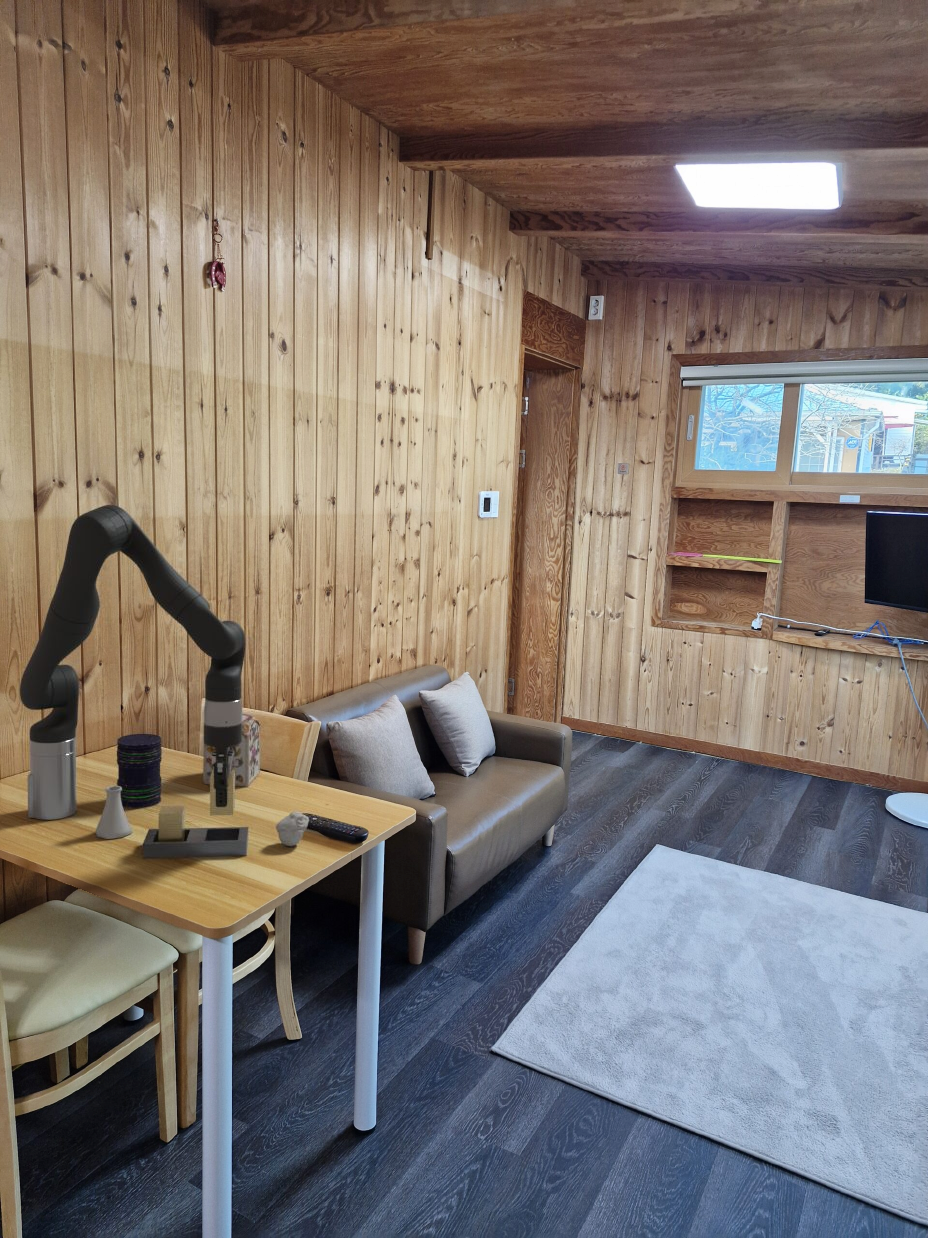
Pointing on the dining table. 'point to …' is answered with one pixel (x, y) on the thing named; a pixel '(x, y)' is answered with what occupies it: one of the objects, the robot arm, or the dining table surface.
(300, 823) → the frog figurine
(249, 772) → the decorative jar
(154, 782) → the storage jar
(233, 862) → the dining table surface
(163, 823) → the block
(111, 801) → the flask
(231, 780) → the beige wooden block
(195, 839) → the grey slotted tray
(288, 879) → the dining table surface
